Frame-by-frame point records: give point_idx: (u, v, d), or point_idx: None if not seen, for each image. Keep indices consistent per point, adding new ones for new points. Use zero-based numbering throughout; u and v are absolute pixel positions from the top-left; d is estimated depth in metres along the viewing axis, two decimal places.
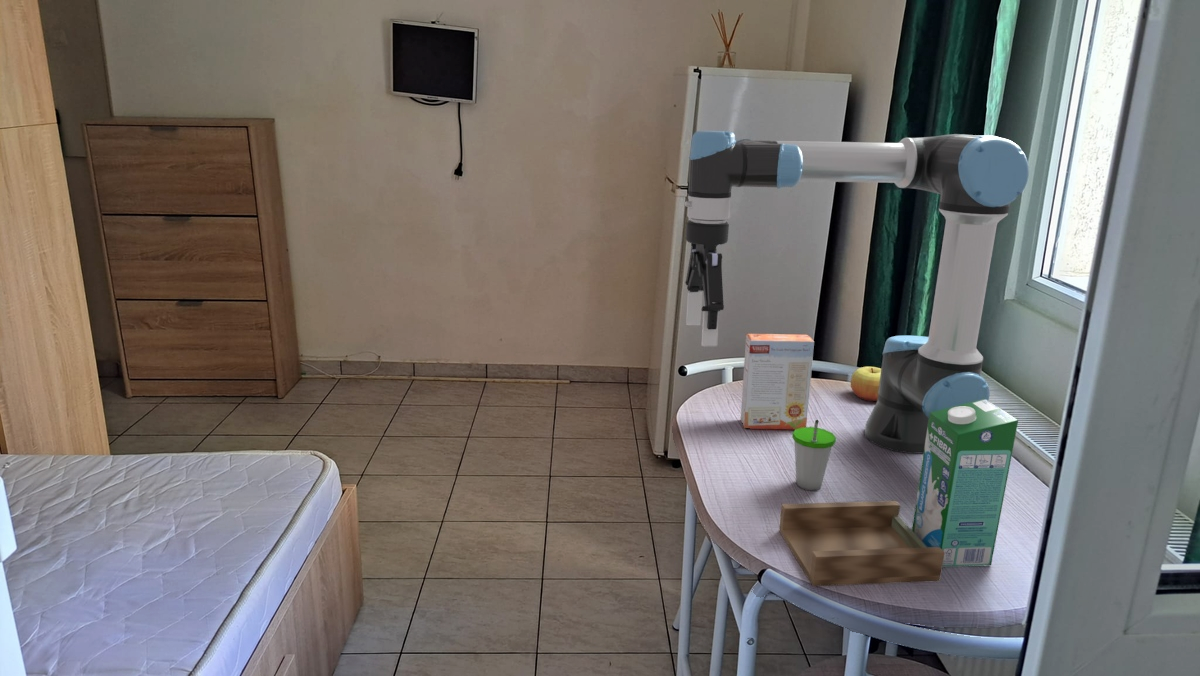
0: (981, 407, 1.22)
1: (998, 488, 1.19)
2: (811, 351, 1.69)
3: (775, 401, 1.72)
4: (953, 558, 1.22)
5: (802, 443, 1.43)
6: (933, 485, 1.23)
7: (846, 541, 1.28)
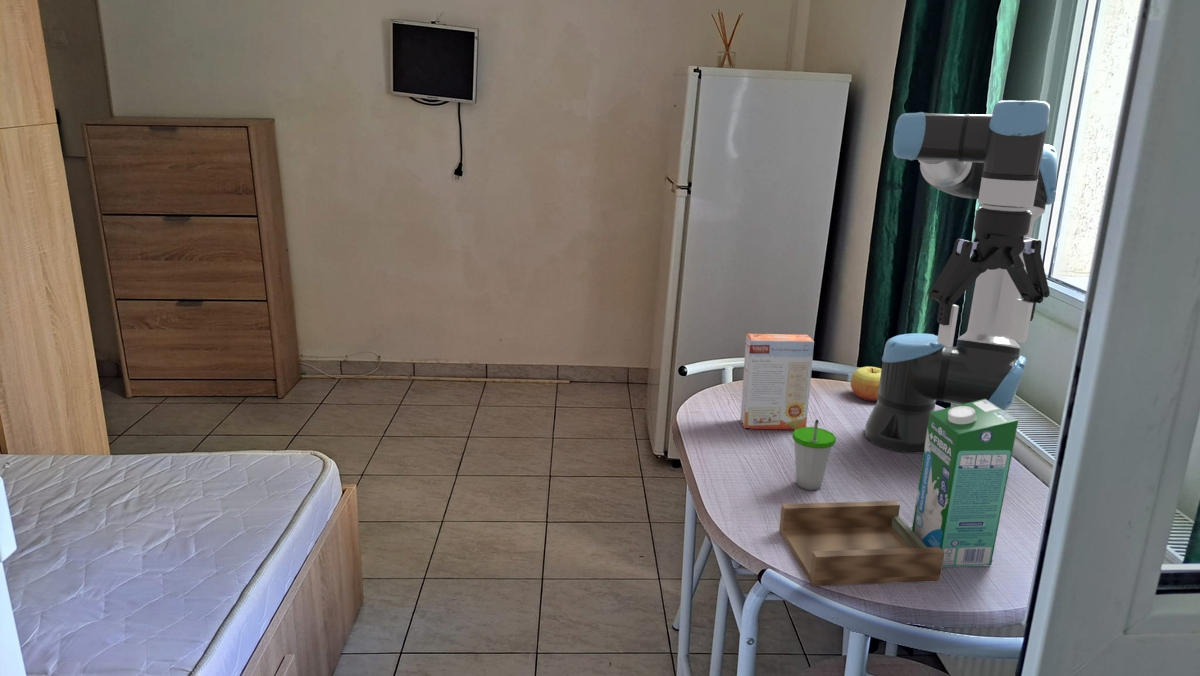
0: (981, 407, 1.22)
1: (998, 488, 1.19)
2: (811, 351, 1.69)
3: (775, 401, 1.72)
4: (953, 558, 1.22)
5: (802, 443, 1.43)
6: (933, 485, 1.23)
7: (846, 541, 1.28)
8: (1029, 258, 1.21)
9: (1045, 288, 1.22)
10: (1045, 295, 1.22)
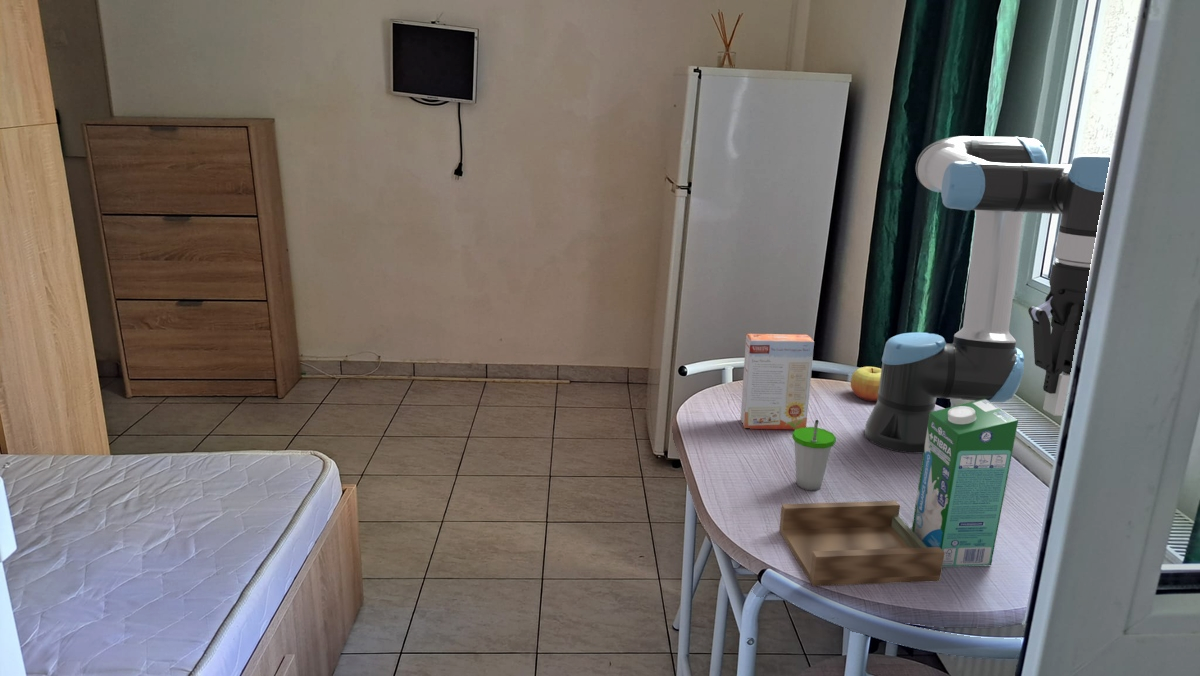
0: (981, 407, 1.22)
1: (998, 488, 1.19)
2: (811, 351, 1.69)
3: (775, 401, 1.72)
4: (953, 558, 1.22)
5: (802, 443, 1.43)
6: (933, 485, 1.23)
7: (846, 541, 1.28)
8: None
9: None
10: None
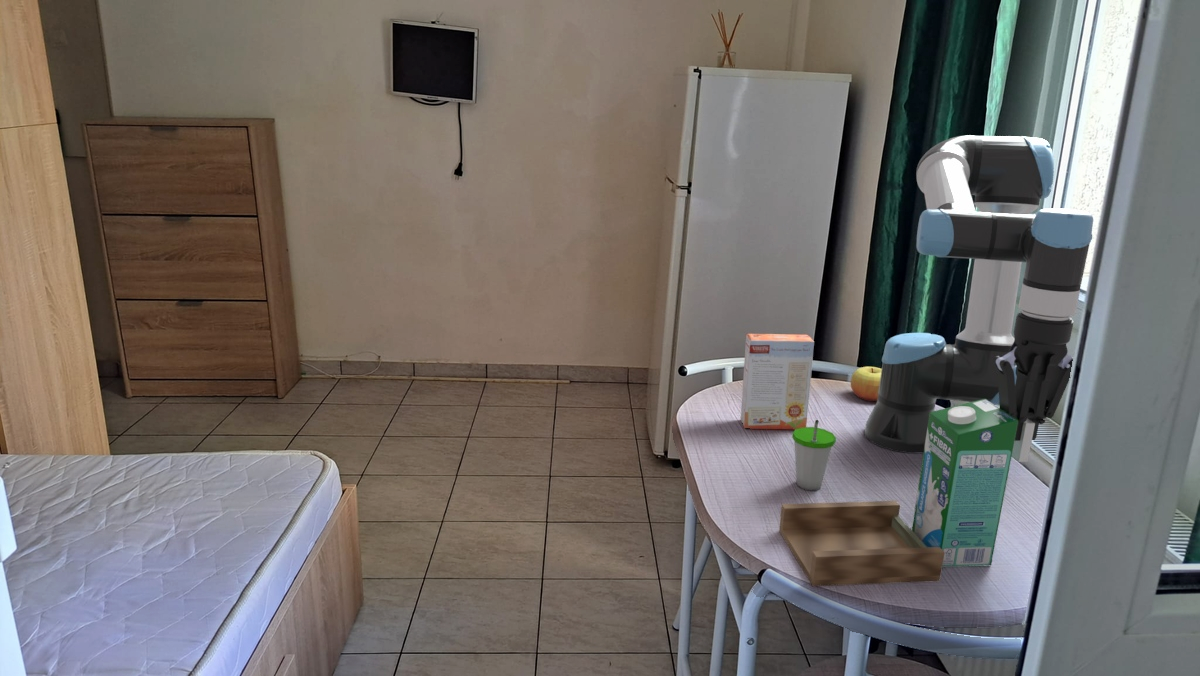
0: (981, 407, 1.22)
1: (998, 488, 1.19)
2: (811, 351, 1.69)
3: (775, 401, 1.72)
4: (953, 558, 1.22)
5: (802, 443, 1.43)
6: (933, 485, 1.23)
7: (846, 541, 1.28)
8: (1058, 373, 1.20)
9: (1052, 409, 1.20)
10: (1048, 415, 1.20)
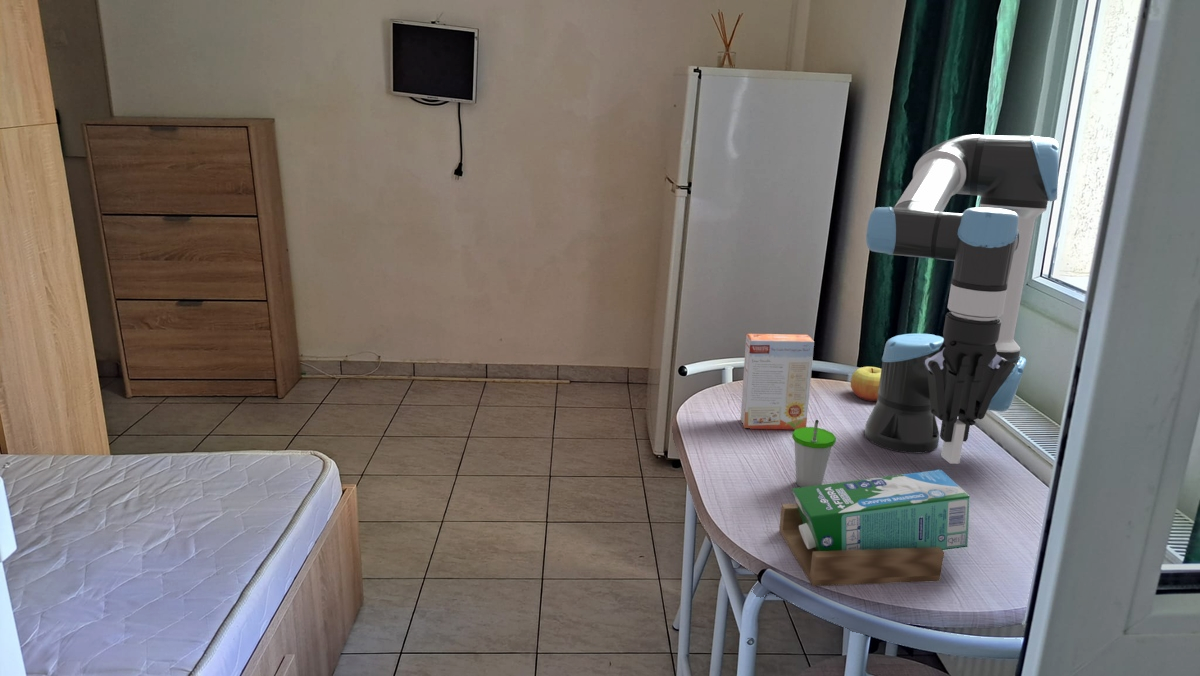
0: (800, 507, 1.24)
1: (882, 514, 1.19)
2: (811, 351, 1.69)
3: (775, 401, 1.72)
4: (958, 534, 1.21)
5: (802, 443, 1.43)
6: None
7: None
8: (989, 374, 1.19)
9: (983, 410, 1.19)
10: (979, 416, 1.19)
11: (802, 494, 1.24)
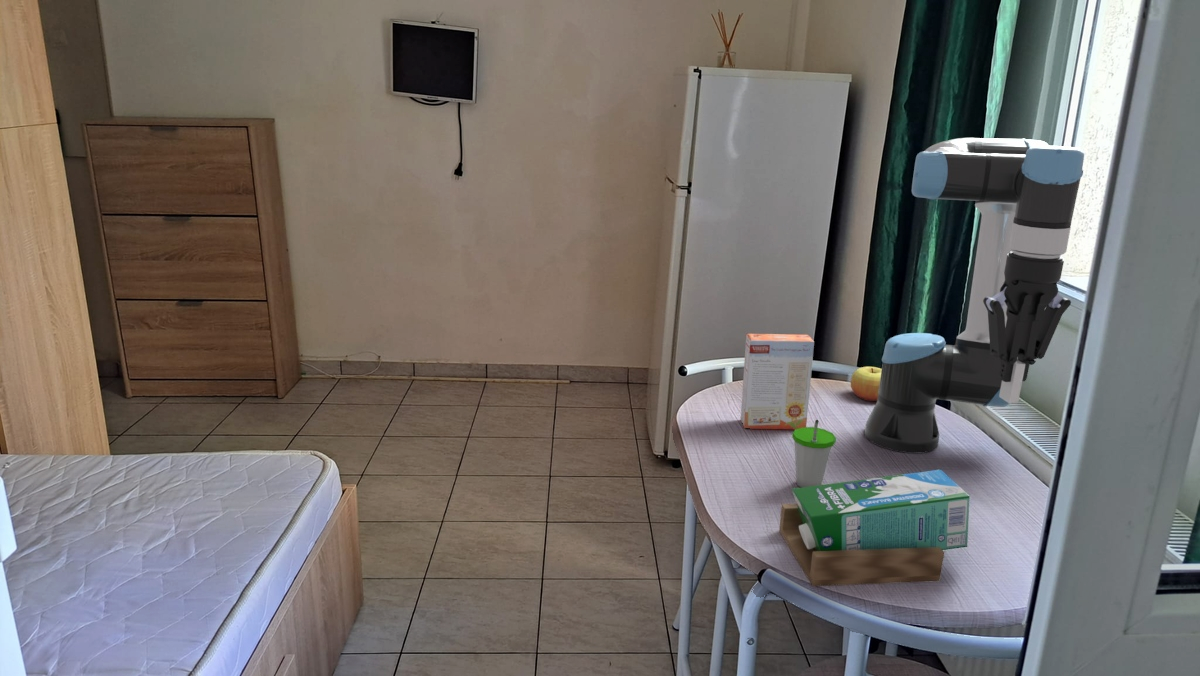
0: (800, 507, 1.24)
1: (882, 514, 1.18)
2: (811, 351, 1.69)
3: (775, 401, 1.72)
4: (958, 534, 1.21)
5: (802, 443, 1.43)
6: None
7: None
8: (1049, 313, 1.19)
9: (1043, 349, 1.20)
10: (1039, 355, 1.20)
11: (802, 494, 1.24)
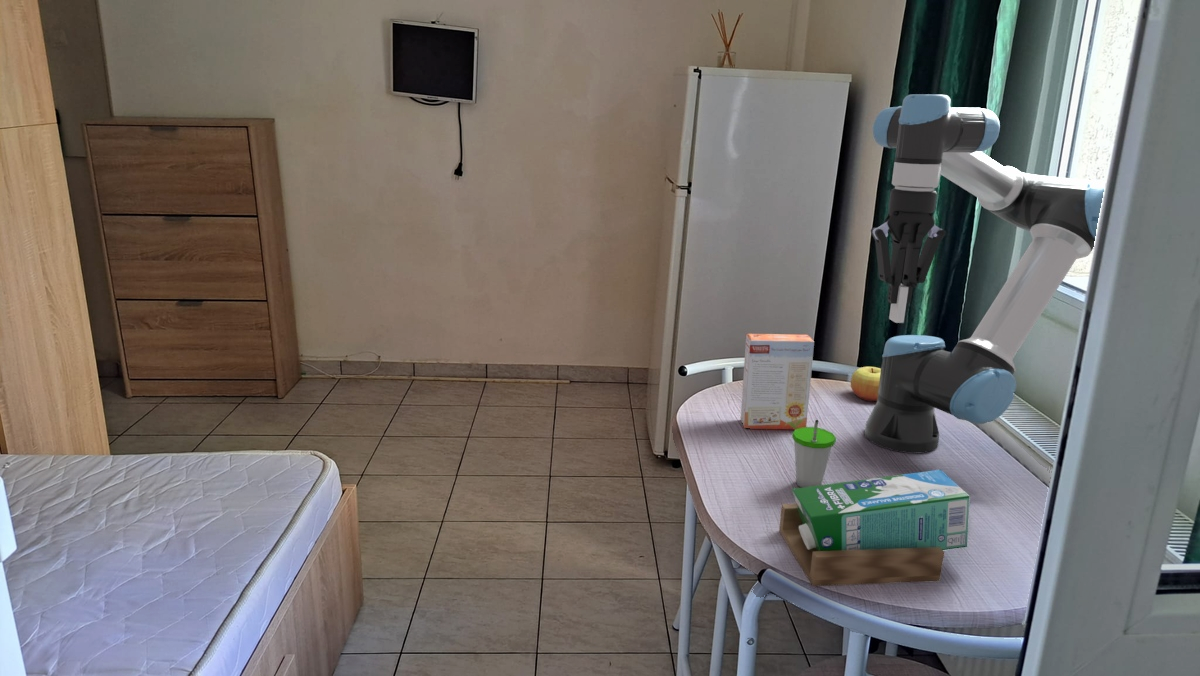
0: (799, 508, 1.24)
1: (882, 514, 1.18)
2: (811, 351, 1.69)
3: (775, 401, 1.72)
4: (958, 534, 1.21)
5: (802, 443, 1.43)
6: None
7: None
8: (928, 242, 1.37)
9: (923, 274, 1.37)
10: (920, 280, 1.38)
11: (802, 494, 1.24)
